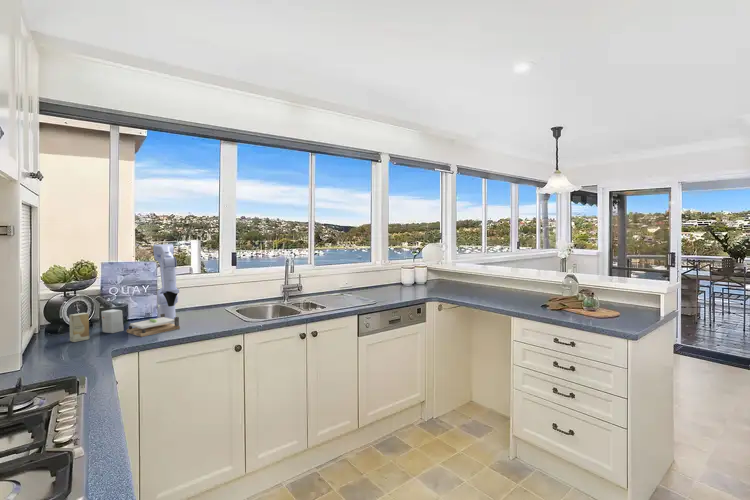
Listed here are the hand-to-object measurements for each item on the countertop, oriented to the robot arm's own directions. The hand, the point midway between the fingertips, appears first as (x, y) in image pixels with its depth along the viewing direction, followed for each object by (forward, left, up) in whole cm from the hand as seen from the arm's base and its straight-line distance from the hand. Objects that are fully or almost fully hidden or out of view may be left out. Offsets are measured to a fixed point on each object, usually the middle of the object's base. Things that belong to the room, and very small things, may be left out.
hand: (171, 306), depth 198 cm
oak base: (+2, -10, -10) cm, 14 cm away
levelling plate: (+2, -10, -7) cm, 12 cm away
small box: (-14, -22, -11) cm, 28 cm away
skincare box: (-9, -37, -11) cm, 40 cm away
